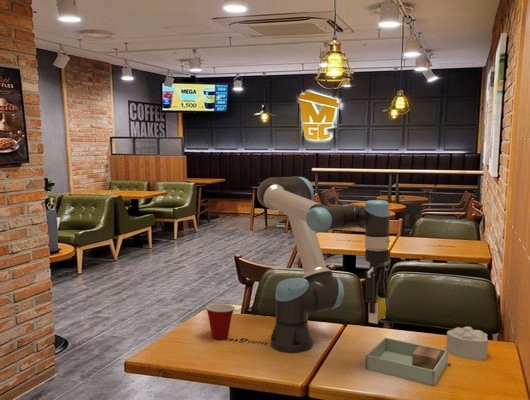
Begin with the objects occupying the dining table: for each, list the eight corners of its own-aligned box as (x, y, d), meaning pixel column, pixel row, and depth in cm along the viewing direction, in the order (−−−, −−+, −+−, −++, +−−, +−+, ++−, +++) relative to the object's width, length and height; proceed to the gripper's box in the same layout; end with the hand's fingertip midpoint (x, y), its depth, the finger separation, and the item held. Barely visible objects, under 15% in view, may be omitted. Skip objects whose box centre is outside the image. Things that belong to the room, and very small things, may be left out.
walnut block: (411, 372, 156) (412, 353, 155) (417, 363, 162) (418, 346, 161) (434, 377, 152) (435, 358, 152) (439, 369, 158) (440, 350, 157)
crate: (365, 370, 158) (366, 355, 158) (384, 351, 173) (384, 337, 173) (433, 387, 147) (434, 371, 146) (447, 365, 162) (447, 350, 162)
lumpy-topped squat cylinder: (487, 363, 164) (488, 338, 163) (445, 357, 169) (446, 332, 168) (486, 351, 174) (487, 327, 173) (446, 346, 178) (447, 322, 178)
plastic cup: (240, 335, 188) (240, 304, 187) (223, 344, 179) (223, 312, 178) (218, 329, 194) (217, 300, 192) (200, 338, 185) (199, 307, 183)
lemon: (386, 324, 156) (385, 299, 156) (368, 323, 158) (367, 298, 157) (386, 318, 162) (386, 294, 161) (368, 317, 163) (368, 293, 162)
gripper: (377, 254, 148) (376, 330, 150) (398, 245, 163) (398, 314, 165) (353, 252, 153) (353, 325, 154) (377, 243, 168) (377, 311, 169)
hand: (376, 319), depth 160 cm, fingers closed on lemon, 5 cm apart
